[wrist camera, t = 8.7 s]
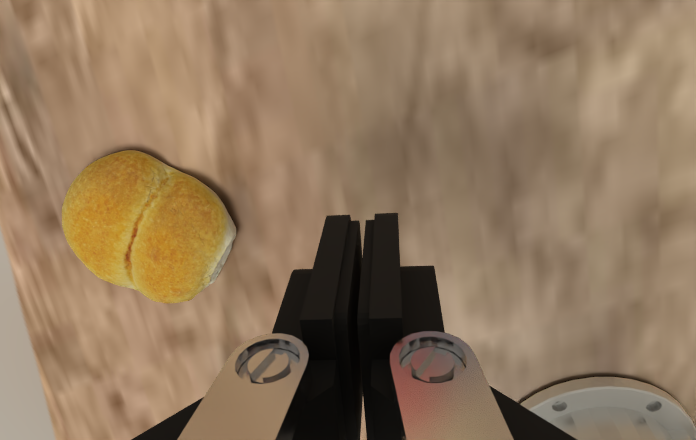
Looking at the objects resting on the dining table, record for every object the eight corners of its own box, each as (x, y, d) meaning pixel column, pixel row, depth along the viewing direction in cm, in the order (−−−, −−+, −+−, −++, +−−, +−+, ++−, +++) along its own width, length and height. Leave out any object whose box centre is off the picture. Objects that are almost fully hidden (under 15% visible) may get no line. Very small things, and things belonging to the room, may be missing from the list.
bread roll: (99, 123, 26) (52, 146, 22) (255, 197, 27) (235, 230, 23) (67, 243, 29) (22, 280, 26) (206, 304, 30) (182, 347, 27)
